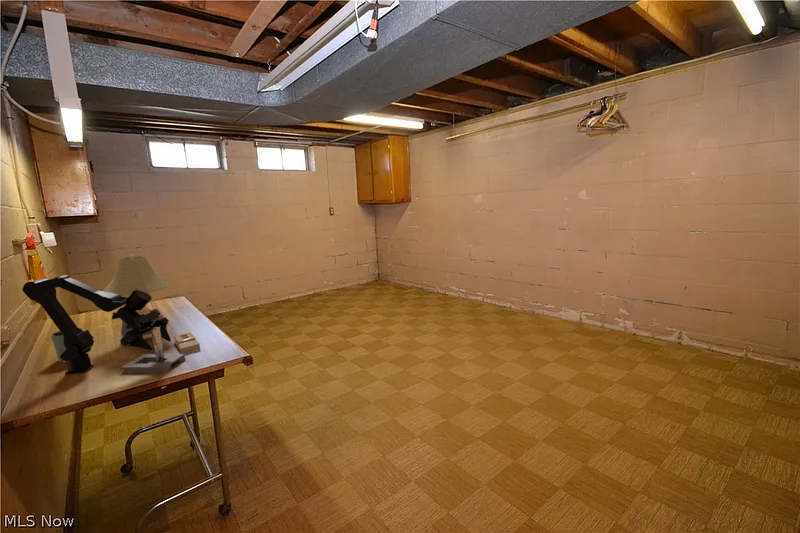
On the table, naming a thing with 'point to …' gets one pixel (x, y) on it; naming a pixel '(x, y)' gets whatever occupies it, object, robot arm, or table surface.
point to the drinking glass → (59, 343)
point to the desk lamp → (136, 283)
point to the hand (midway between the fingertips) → (161, 345)
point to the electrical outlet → (186, 342)
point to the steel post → (158, 344)
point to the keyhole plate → (153, 363)
